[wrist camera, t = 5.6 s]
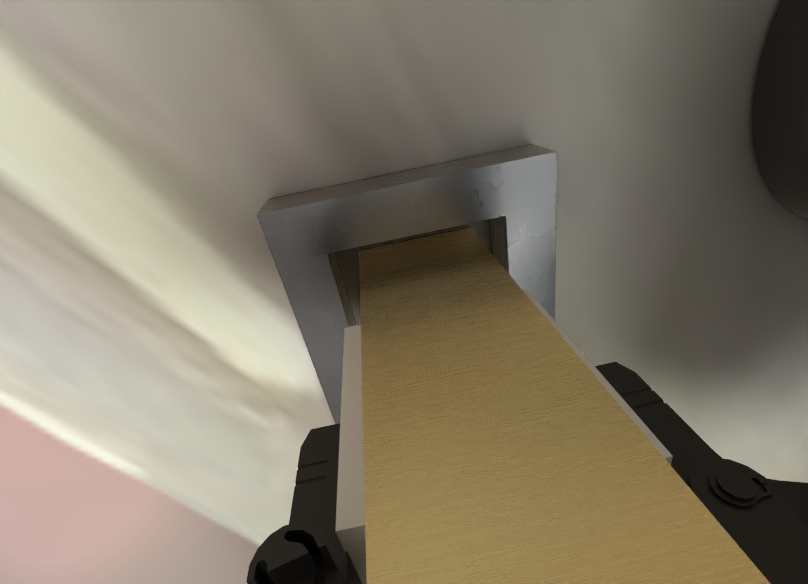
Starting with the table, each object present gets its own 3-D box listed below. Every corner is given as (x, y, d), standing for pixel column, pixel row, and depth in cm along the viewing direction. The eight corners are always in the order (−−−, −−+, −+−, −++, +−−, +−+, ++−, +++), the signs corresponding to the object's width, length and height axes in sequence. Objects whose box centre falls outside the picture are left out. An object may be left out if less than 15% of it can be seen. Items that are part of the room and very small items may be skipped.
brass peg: (358, 251, 15) (378, 1117, 2) (469, 227, 15) (1075, 945, 2) (381, 341, 18) (458, 1051, 5) (479, 321, 18) (826, 962, 5)
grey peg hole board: (269, 199, 14) (255, 216, 12) (531, 144, 14) (559, 152, 12) (403, 579, 27) (406, 616, 25) (538, 548, 28) (552, 583, 26)
